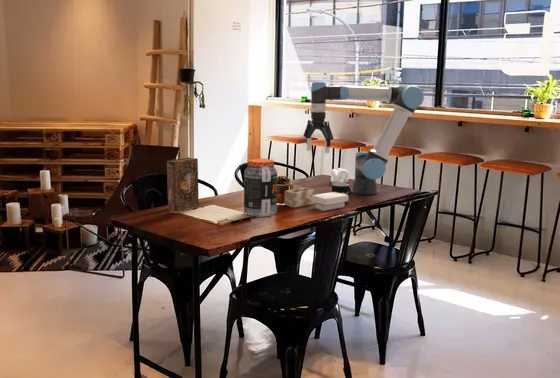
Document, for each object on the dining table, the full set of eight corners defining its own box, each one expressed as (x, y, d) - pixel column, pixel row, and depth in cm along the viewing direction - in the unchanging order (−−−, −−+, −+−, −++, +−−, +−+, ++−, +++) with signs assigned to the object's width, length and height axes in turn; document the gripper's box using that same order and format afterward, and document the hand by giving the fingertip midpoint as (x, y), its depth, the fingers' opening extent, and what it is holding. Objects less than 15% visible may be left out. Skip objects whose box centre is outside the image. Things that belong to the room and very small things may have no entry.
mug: (340, 206, 291) (340, 186, 289) (327, 203, 298) (328, 183, 296) (356, 203, 299) (357, 184, 297) (343, 200, 305) (344, 181, 303)
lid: (334, 199, 293) (334, 191, 292) (348, 203, 285) (348, 195, 285) (312, 203, 284) (312, 195, 283) (325, 207, 276) (325, 198, 276)
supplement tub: (279, 217, 268) (280, 162, 263) (245, 218, 265) (245, 163, 260) (274, 209, 283) (274, 157, 278) (242, 210, 281) (242, 157, 275)
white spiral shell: (342, 186, 342) (343, 171, 341) (325, 183, 349) (325, 169, 347) (351, 183, 352) (351, 168, 350) (333, 180, 358) (334, 166, 356)
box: (305, 202, 298) (306, 187, 297) (314, 205, 293) (314, 189, 291) (284, 206, 290) (284, 190, 288) (293, 208, 284) (293, 193, 283)
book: (174, 214, 271) (173, 162, 266) (166, 212, 274) (165, 161, 269) (198, 208, 284) (197, 158, 279) (190, 206, 287) (189, 157, 282)
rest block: (336, 205, 292) (336, 200, 291) (344, 208, 287) (344, 202, 287) (315, 209, 283) (315, 203, 283) (323, 212, 279) (323, 206, 278)
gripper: (297, 110, 308) (296, 149, 312) (330, 113, 289) (329, 154, 293) (307, 109, 312) (306, 148, 317) (340, 112, 294) (339, 153, 298)
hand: (317, 151), depth 305 cm, fingers open, 13 cm apart
